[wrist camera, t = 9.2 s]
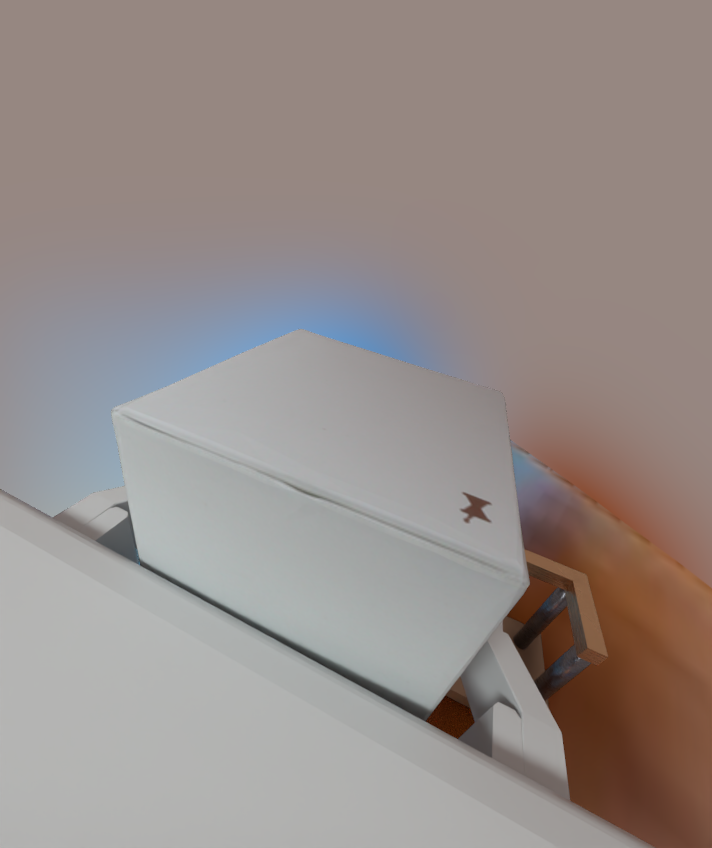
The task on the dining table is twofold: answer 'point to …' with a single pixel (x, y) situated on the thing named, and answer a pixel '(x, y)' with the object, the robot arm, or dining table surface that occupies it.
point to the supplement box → (334, 507)
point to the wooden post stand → (582, 619)
